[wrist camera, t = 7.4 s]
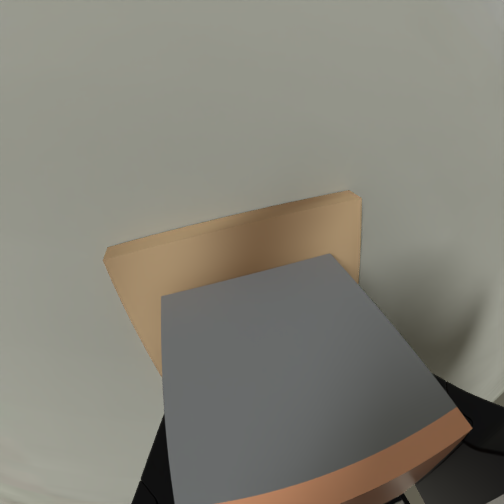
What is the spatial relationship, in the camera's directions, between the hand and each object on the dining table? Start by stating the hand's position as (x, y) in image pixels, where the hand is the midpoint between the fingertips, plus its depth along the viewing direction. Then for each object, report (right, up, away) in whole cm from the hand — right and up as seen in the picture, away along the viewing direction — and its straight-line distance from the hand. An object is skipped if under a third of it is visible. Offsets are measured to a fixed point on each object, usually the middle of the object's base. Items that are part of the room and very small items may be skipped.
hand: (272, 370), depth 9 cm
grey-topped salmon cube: (0, +1, +1) cm, 2 cm away
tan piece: (-1, +1, +2) cm, 3 cm away
